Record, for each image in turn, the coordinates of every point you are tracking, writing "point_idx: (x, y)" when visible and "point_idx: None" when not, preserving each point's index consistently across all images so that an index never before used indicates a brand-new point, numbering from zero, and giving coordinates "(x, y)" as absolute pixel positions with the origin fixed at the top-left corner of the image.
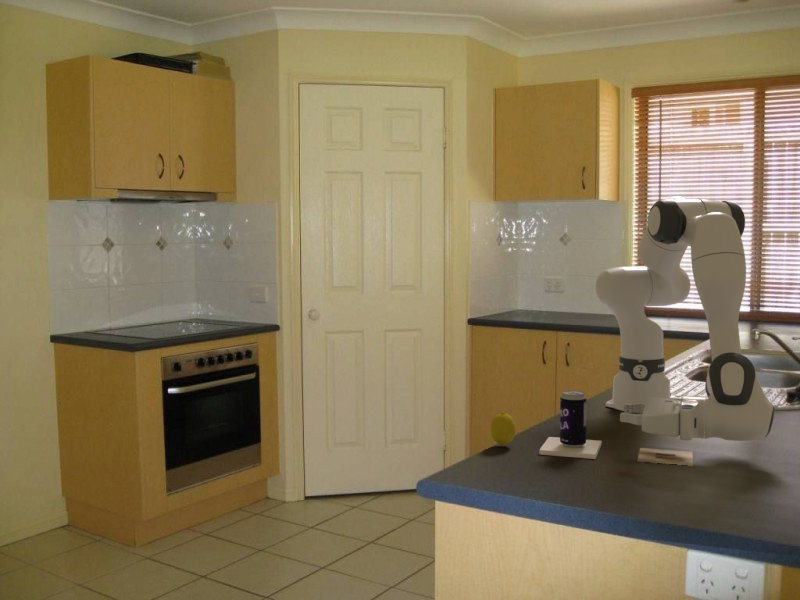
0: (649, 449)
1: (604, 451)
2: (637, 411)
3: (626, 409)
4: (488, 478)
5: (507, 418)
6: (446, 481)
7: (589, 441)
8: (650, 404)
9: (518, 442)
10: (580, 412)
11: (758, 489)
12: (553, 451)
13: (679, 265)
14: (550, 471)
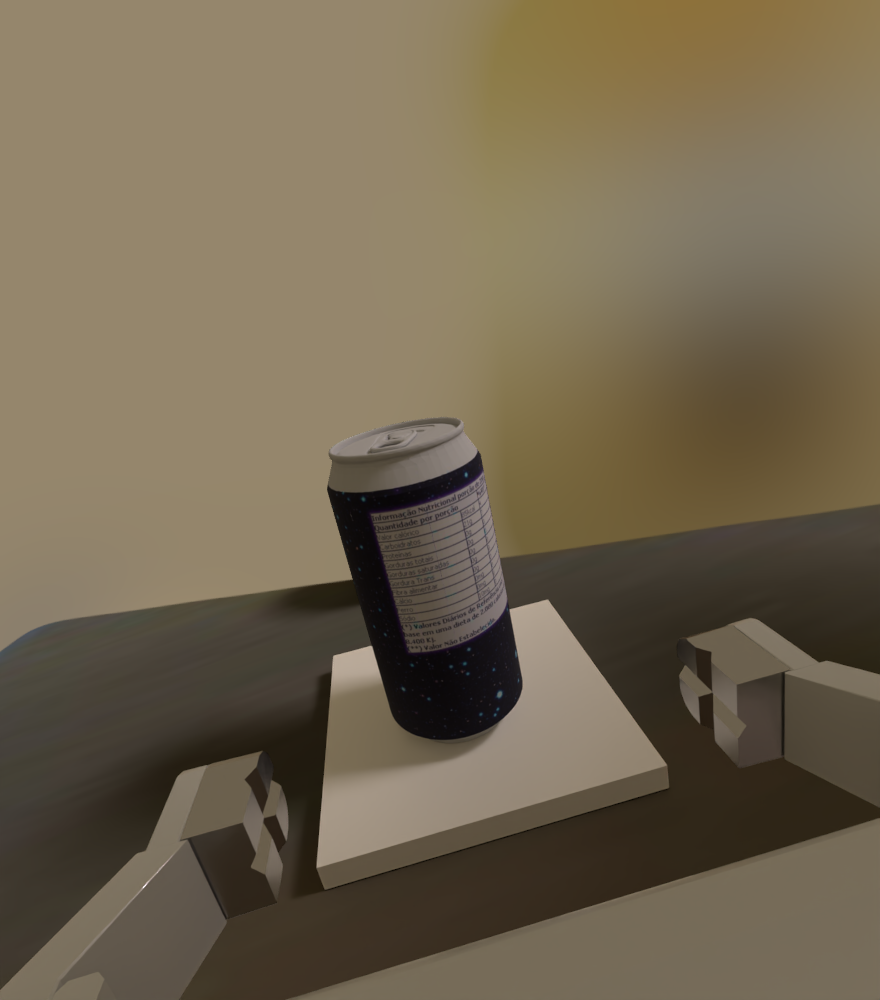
0: None
1: (537, 863)
2: (868, 791)
3: (697, 690)
4: (23, 695)
5: None
6: (21, 648)
7: (593, 725)
8: (772, 980)
9: None
10: (363, 569)
11: None
12: (331, 693)
13: None
14: (74, 800)
